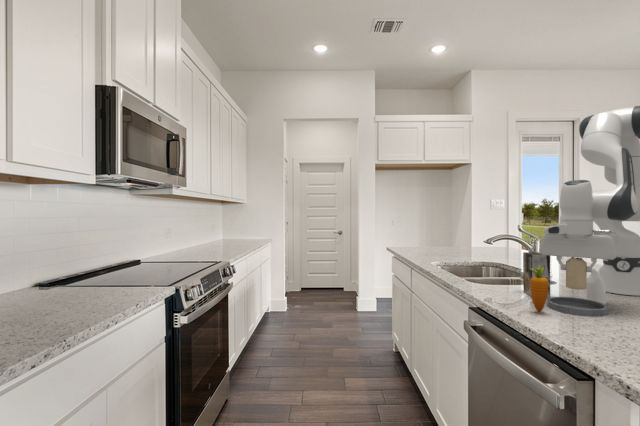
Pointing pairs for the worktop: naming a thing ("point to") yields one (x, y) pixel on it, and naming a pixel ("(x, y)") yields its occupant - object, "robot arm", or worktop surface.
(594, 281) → the white plastic bottle
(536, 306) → the carrot
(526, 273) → the coffee box
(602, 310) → the dish
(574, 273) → the candle
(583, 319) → the worktop surface
